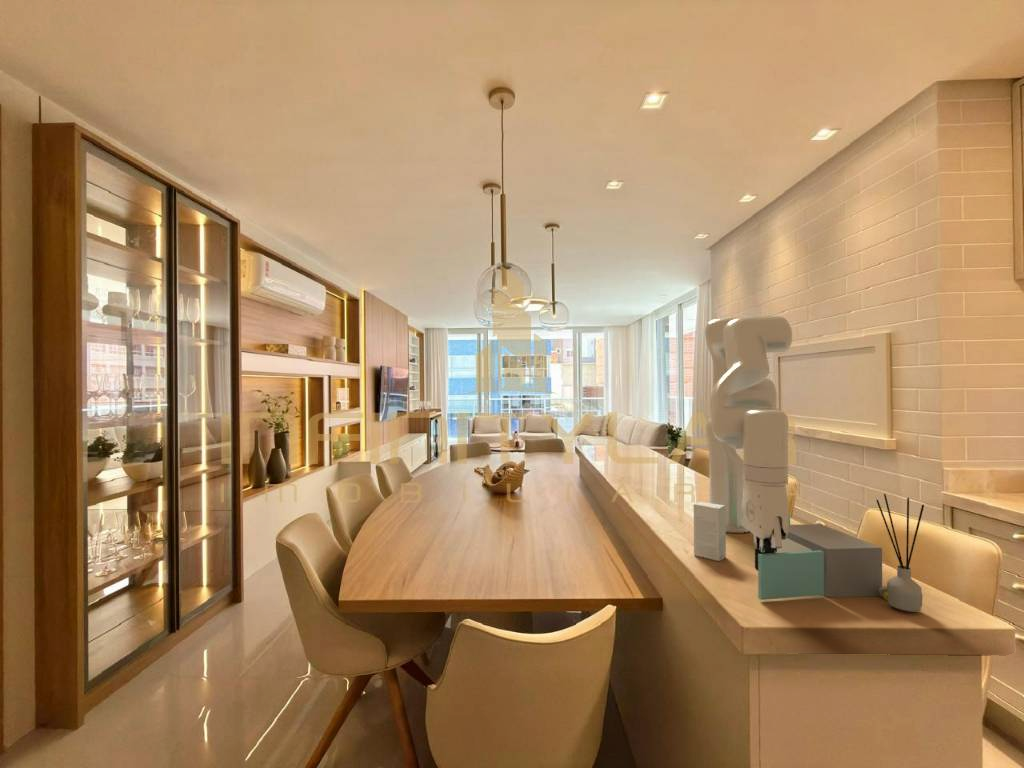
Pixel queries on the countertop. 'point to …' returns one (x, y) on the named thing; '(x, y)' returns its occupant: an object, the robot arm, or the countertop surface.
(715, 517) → the skincare box
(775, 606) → the countertop surface
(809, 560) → the side door
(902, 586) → the reed diffuser
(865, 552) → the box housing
